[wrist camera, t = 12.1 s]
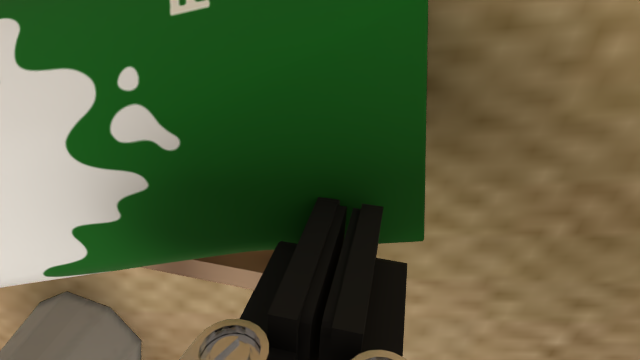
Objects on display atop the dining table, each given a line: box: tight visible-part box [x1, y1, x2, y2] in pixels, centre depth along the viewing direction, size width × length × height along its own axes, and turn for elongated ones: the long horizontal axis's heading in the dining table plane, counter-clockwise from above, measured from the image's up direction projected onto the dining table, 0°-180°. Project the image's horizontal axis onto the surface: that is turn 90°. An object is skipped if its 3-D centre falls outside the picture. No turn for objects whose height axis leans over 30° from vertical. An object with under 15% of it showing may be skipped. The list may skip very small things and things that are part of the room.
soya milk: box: [0, 0, 428, 288], centre depth 13 cm, size 9×9×20 cm
